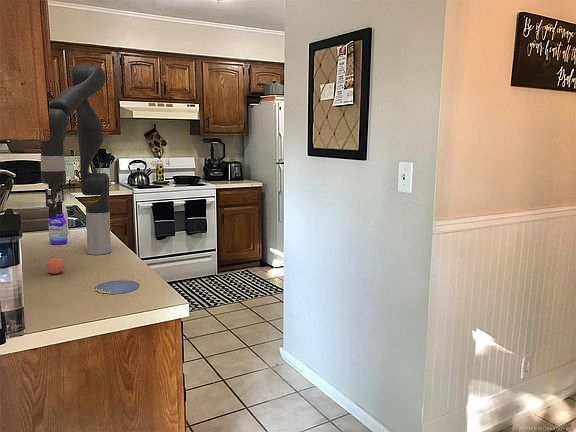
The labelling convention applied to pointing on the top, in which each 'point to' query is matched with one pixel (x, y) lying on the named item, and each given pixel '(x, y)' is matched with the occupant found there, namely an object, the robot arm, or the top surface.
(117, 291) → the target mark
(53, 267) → the ball
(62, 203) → the milk bottle
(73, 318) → the top surface
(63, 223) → the bottle
